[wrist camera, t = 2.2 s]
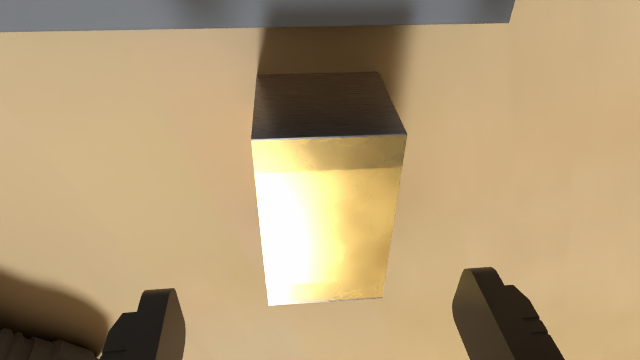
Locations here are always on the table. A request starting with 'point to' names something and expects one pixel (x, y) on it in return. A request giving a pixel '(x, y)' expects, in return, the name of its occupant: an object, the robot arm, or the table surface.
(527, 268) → the table surface
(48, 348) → the flashlight
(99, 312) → the table surface
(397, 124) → the coupler
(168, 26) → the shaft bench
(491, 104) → the table surface
